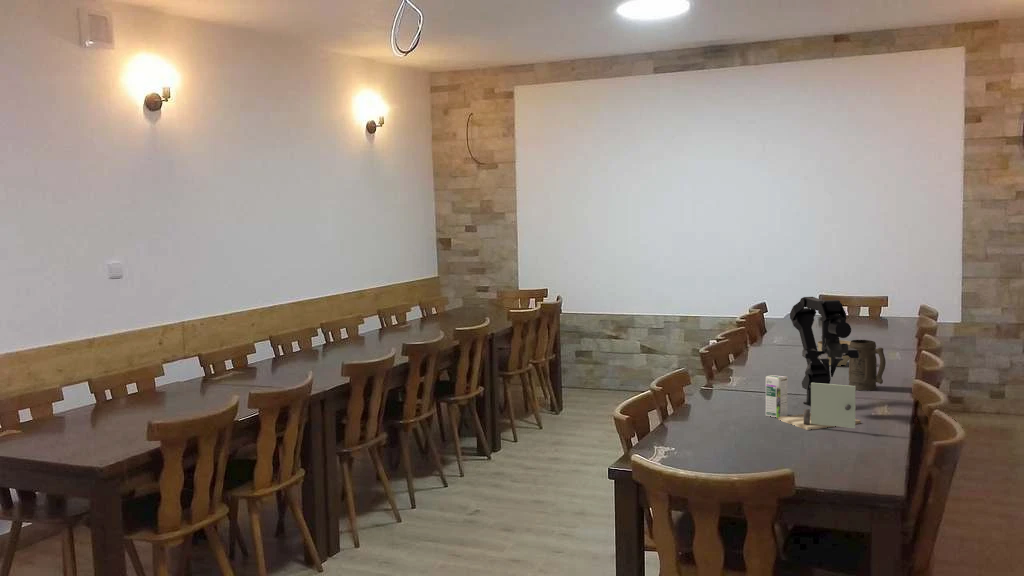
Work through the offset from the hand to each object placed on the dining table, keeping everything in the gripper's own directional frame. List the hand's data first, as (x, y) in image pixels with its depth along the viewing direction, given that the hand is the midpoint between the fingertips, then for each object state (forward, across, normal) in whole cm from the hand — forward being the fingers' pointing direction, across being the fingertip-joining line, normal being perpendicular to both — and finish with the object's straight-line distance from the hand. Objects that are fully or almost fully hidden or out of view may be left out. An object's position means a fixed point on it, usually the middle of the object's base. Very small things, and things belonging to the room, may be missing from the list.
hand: (830, 376), depth 304 cm
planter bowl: (+13, +27, +96) cm, 101 cm away
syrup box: (+13, -20, -6) cm, 25 cm away
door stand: (+13, -8, -14) cm, 21 cm away
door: (+12, -6, -27) cm, 30 cm away
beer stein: (+13, +25, +40) cm, 50 cm away
